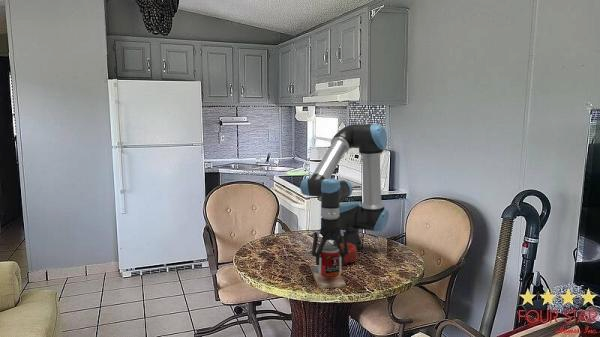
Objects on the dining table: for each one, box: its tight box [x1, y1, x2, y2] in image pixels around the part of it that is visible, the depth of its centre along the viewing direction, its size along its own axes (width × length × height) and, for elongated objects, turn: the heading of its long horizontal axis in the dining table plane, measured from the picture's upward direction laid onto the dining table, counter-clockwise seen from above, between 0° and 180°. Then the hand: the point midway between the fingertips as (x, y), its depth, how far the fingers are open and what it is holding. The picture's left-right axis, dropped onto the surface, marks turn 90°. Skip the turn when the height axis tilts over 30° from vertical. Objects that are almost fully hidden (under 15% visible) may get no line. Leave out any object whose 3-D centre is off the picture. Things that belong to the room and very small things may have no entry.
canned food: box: [320, 245, 340, 278], centre depth 174 cm, size 8×8×11 cm
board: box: [309, 265, 347, 289], centre depth 180 cm, size 11×22×2 cm, turn 8°
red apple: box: [336, 242, 358, 265], centre depth 198 cm, size 11×10×10 cm
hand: (329, 271), depth 174 cm, fingers closed on canned food, 8 cm apart
